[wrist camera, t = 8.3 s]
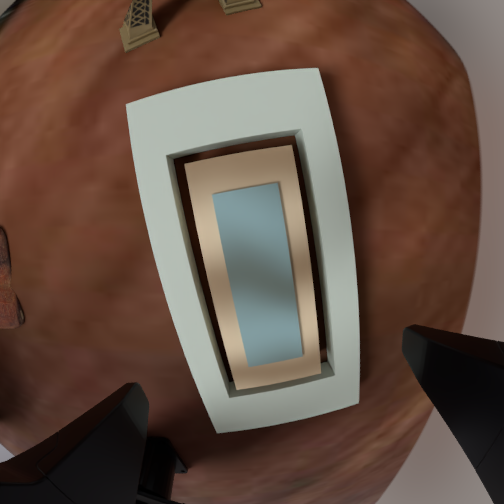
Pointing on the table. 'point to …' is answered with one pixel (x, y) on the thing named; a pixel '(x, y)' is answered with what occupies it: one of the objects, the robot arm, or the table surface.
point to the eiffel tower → (144, 28)
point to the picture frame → (257, 263)
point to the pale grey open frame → (322, 218)
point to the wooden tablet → (7, 291)
